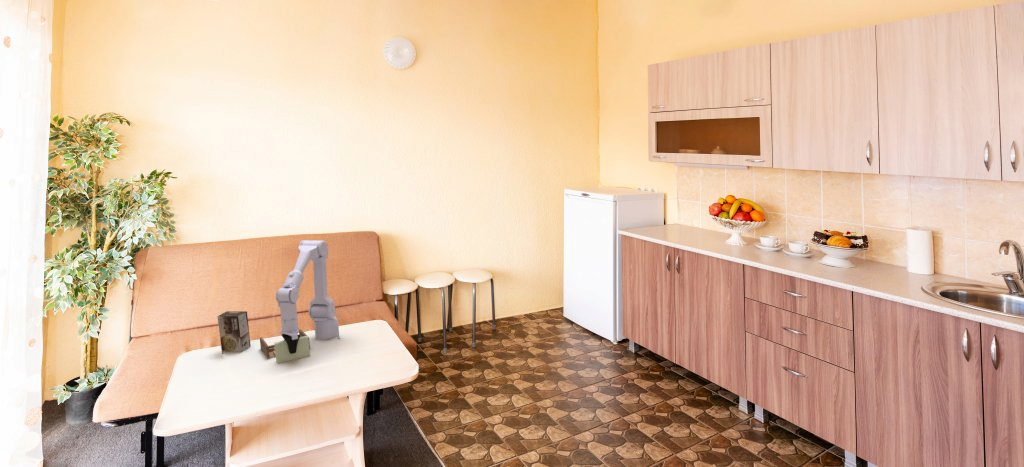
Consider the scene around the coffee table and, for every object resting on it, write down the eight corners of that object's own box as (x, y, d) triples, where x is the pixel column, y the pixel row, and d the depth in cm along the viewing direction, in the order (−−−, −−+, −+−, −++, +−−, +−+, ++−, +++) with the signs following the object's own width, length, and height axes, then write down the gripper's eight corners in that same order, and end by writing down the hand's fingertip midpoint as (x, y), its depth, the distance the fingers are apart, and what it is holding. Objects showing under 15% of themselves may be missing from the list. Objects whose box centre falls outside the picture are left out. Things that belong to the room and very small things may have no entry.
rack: (301, 342, 225) (300, 329, 224) (310, 351, 214) (309, 337, 213) (261, 351, 215) (259, 337, 214) (267, 361, 205) (266, 346, 204)
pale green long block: (308, 354, 209) (307, 335, 208) (310, 356, 208) (308, 337, 206) (276, 362, 202) (274, 342, 201) (277, 364, 201) (275, 343, 200)
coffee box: (251, 348, 219) (248, 311, 216) (242, 354, 212) (238, 316, 210) (230, 348, 220) (226, 310, 217) (221, 354, 213) (216, 315, 211)
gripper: (273, 315, 206) (276, 348, 208) (282, 325, 194) (285, 360, 196) (292, 312, 210) (295, 344, 212) (302, 321, 198) (305, 355, 200)
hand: (292, 352), depth 204 cm, fingers closed on pale green long block, 2 cm apart
